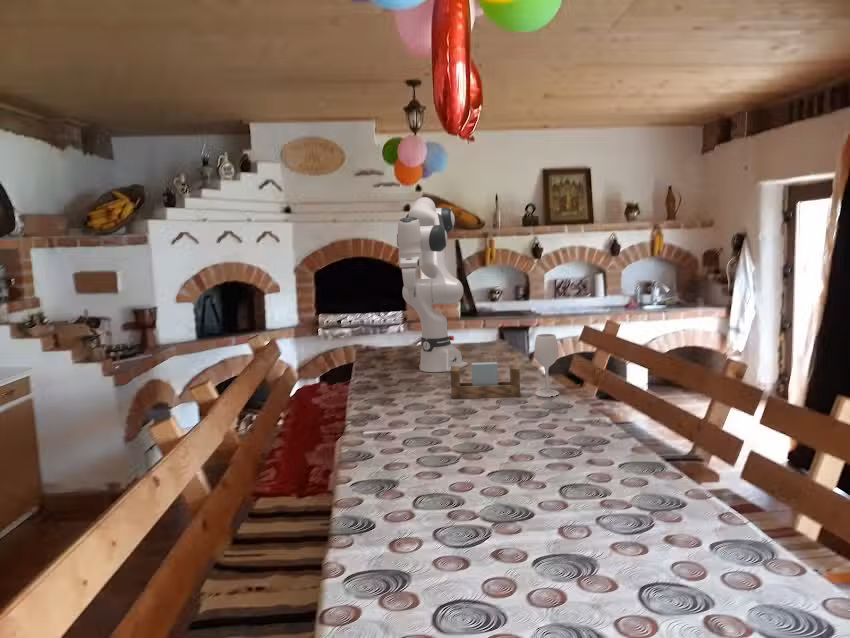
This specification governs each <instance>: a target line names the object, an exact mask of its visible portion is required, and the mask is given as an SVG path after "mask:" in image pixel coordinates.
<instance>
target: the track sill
mask: <svg viewBox="0 0 850 638" xmlns="http://www.w3.org/2000/svg"><path fill="white" fill-rule="evenodd" d="M460 369H461V368H460V366H451V371H449V372H450V390H451V394H450V395H451V400H455V399H457V400H459V399H463V400H464V399H496V398H499V399H500V398H501V399H502V398H521V376H520V373H521V372H520V371H521V370H520V366H519V364H518V363H515V364H509V380H507V381H505V380H504V381H501V380H500V381H499V380H498V385H493V386H472V381H469V382H468V381H467V382H461V370H460Z"/></svg>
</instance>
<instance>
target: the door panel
mask: <svg viewBox="0 0 850 638" xmlns="http://www.w3.org/2000/svg"><path fill="white" fill-rule="evenodd" d="M498 372H499V371H498V362H497V361H494V362H493V361H490V362H489V361H488V362H486V361H485V362H471V382H472V386H493V385H498V381H499V379H498V377H499V376H498V375H499V374H498Z"/></svg>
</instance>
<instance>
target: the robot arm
mask: <svg viewBox="0 0 850 638" xmlns="http://www.w3.org/2000/svg"><path fill="white" fill-rule="evenodd" d="M455 220H456V219H455V214H454V212H453V210H452V209H451V208H449V207H447V206H446V207H444V206H443V207H436V204H435V202H434V201H433V200H432V199H431V198H430V197H426V196H423V197H420V198H418V199H416V200H415V201H414V202H413V204H412V205H411V206H410V209H409V211H408V213H407V214H406V216H405V217H402V218H401V219H398V222H397V234H396V242H397V243H396V244H397V246H398V253H397V254H398V265H399V266H398V267H399V268H400V269H401V273H402V274H401V276H402V281H403V286H402V291H401V292H402V293H401V294H402V298H403V299H404V301H405V302H406V304H408V305H409V306H410V307H412V309H414V310H415V312H416V313H417V314H418V318H419V320H420V327H421V337H420V345H421V349H420V364H419V365H418V368H419V370H420V371H421V372H425V373H442V372H444V373H445V372H450V371H451V366H460V369H461V368H464V367H466V366H468V362H467V361H464V360H463V358H462V353H461V350H459V349H458V348H456V346H454V345H453V344H452V342H451V341H454V338H455V336H454V335H448V334H449V333H448V332H449V331H448V319H447V317H446V316H445V315H444V314H442V313H441V312H439V311H436V310H434V309H433V306H432V305H450V304H454V303H458V302H460V301H461V299H462V297H463V295H464V286H463V284H462V282H461V281H460V280H459V279H458V278H456V277H455V276H453V275H452V274H451V273H450V272H449V270H448V267H447V249H446V247H447V245H448V235H449V233H451V231H452V230H453V228H454V226H455V222H456V221H455ZM419 271H421V272H422V274H423V275H424V276H425V277H427V278H419Z"/></svg>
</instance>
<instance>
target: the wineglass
mask: <svg viewBox="0 0 850 638" xmlns="http://www.w3.org/2000/svg"><path fill="white" fill-rule="evenodd" d="M557 339H558V338H557V336H556V334H552V333H541V334H540V333H539V334H537V335H536V336H535V340H534V358H535V359H536V361H537V363H538V364H540V366H542V367H543V368H544V372H545V374H544V375H545V384H544V385H545V386H544V389H540V390H537V391H535V392H534V395H535V396H537V397H544V398H552V397H551V396H553V397H557V396H556V395H558V394H559V393H560V392H559V391H557V390H554V389H551V388H550V385H549V384H550V383H549V370H550V369H549V368H550V367H551V366H553V365H554V364H555V363H556V362H557V360H558V357H559V345H558V340H557ZM559 395H560V394H559ZM559 395H558V396H559Z"/></svg>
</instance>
